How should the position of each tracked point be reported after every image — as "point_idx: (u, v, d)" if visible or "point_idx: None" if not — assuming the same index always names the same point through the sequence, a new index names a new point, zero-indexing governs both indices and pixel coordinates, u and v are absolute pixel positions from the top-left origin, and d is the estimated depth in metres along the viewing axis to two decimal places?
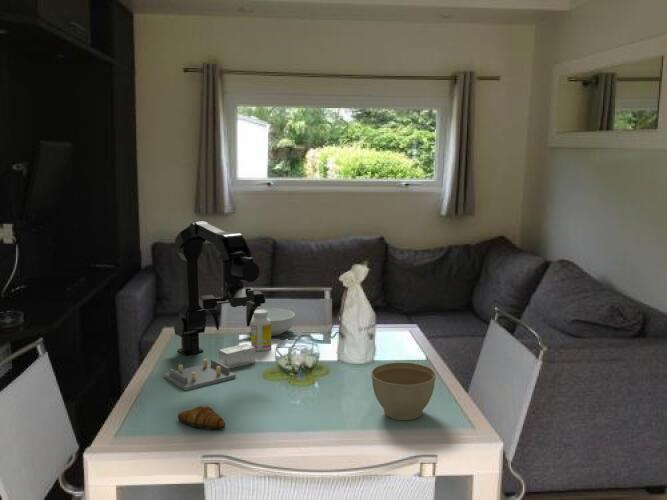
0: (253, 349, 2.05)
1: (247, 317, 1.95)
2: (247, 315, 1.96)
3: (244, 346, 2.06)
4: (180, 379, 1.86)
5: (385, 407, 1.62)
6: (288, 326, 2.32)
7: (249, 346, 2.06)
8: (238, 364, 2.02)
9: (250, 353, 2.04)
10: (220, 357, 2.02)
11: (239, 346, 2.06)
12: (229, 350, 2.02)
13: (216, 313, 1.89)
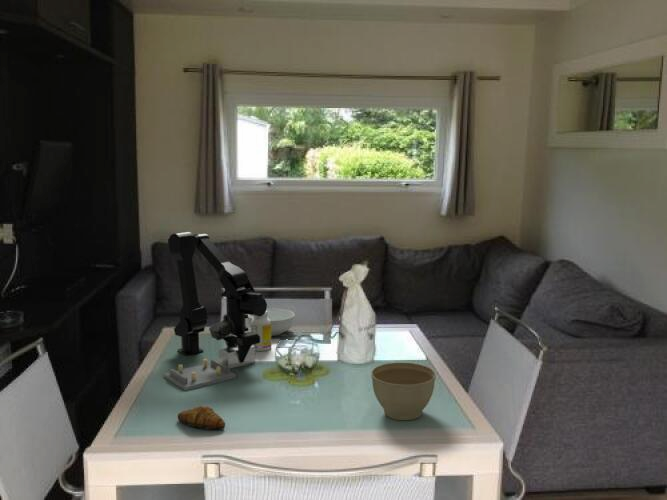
0: (253, 348, 2.05)
1: None
2: None
3: None
4: (180, 379, 1.86)
5: (385, 407, 1.62)
6: (288, 326, 2.32)
7: None
8: (239, 363, 2.02)
9: (250, 352, 2.04)
10: (221, 357, 2.02)
11: None
12: (230, 350, 2.01)
13: (226, 342, 2.05)
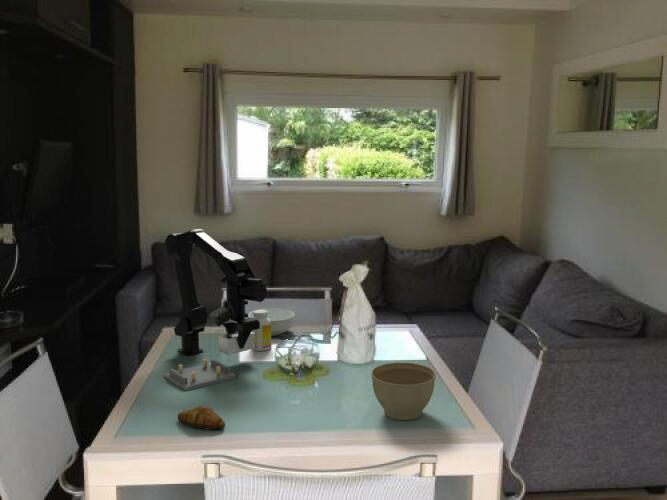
0: (253, 335, 2.04)
1: None
2: None
3: None
4: (180, 379, 1.86)
5: (385, 407, 1.62)
6: (288, 326, 2.32)
7: None
8: (238, 350, 2.01)
9: (250, 339, 2.03)
10: (221, 343, 2.01)
11: None
12: (229, 336, 2.01)
13: (226, 328, 2.04)
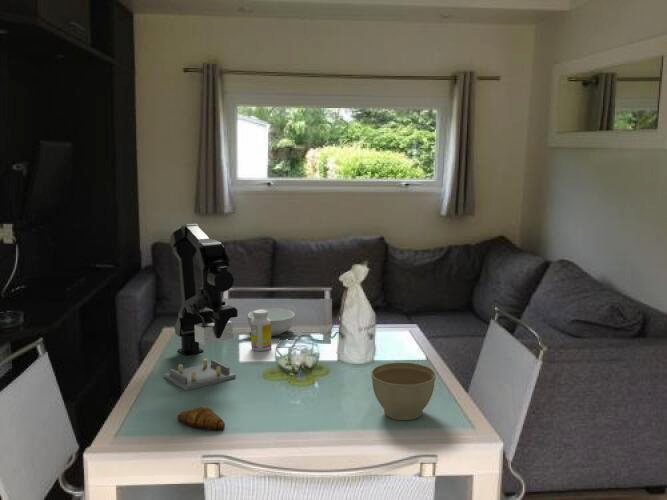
0: (231, 324, 1.95)
1: None
2: None
3: None
4: (180, 379, 1.86)
5: (385, 407, 1.62)
6: (288, 326, 2.32)
7: None
8: (215, 339, 1.92)
9: (227, 328, 1.95)
10: (196, 332, 1.92)
11: None
12: (206, 325, 1.92)
13: (202, 317, 1.95)
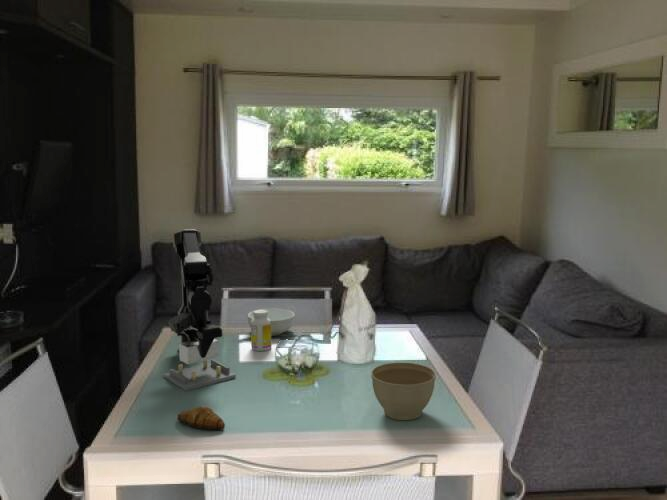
0: (216, 342, 1.92)
1: None
2: None
3: None
4: (180, 379, 1.86)
5: (385, 407, 1.62)
6: (288, 326, 2.32)
7: None
8: (200, 359, 1.89)
9: (213, 347, 1.91)
10: (181, 351, 1.88)
11: None
12: (190, 344, 1.88)
13: (187, 335, 1.92)
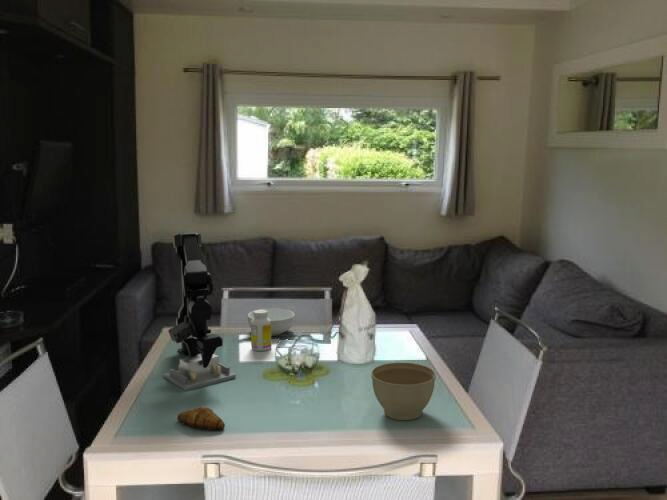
0: (217, 358, 1.92)
1: None
2: None
3: None
4: (180, 379, 1.86)
5: (385, 407, 1.62)
6: (288, 326, 2.32)
7: (213, 355, 1.93)
8: (201, 374, 1.89)
9: (213, 362, 1.92)
10: (181, 367, 1.89)
11: None
12: (191, 360, 1.89)
13: (186, 344, 1.93)
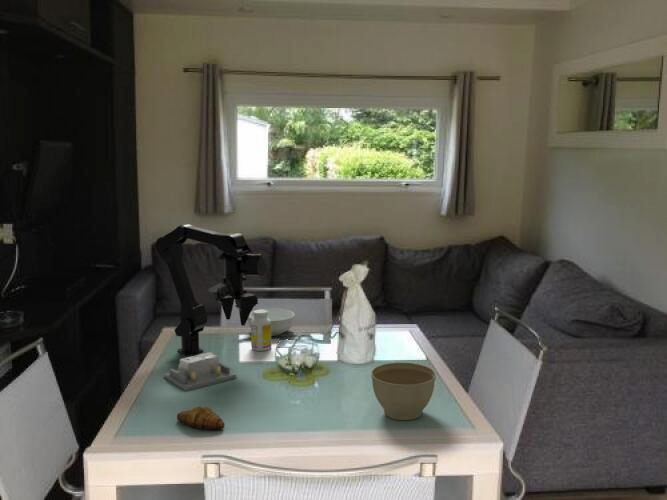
0: (217, 358, 1.92)
1: None
2: None
3: (207, 355, 1.93)
4: (180, 379, 1.86)
5: (385, 407, 1.62)
6: (288, 326, 2.32)
7: (213, 355, 1.93)
8: (201, 374, 1.89)
9: (213, 362, 1.92)
10: (181, 367, 1.89)
11: (202, 355, 1.93)
12: (191, 360, 1.89)
13: (222, 303, 2.09)
